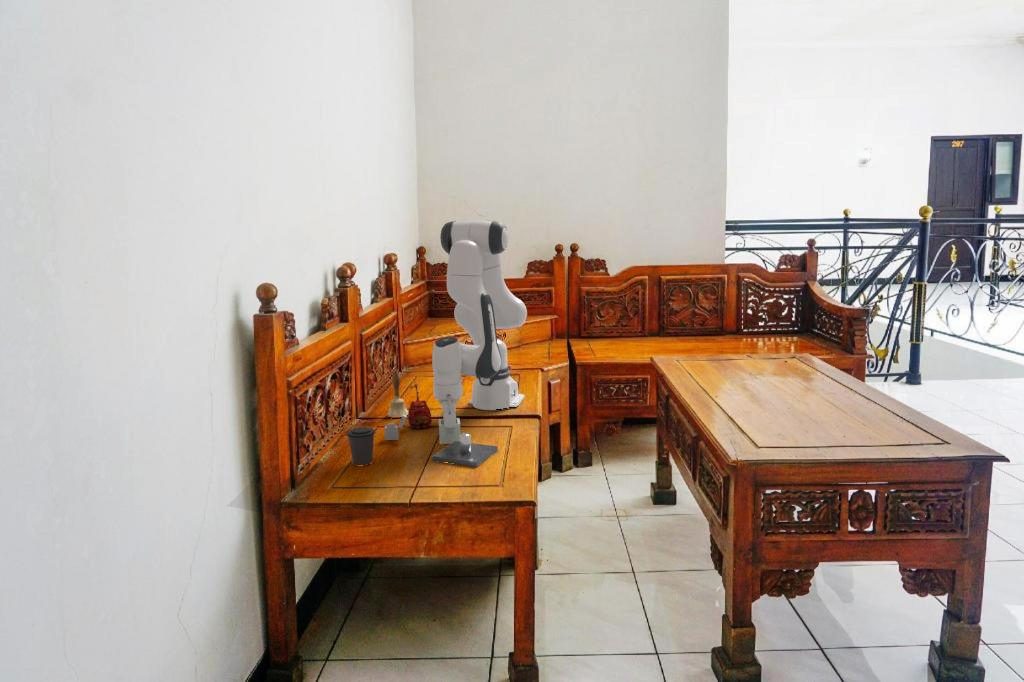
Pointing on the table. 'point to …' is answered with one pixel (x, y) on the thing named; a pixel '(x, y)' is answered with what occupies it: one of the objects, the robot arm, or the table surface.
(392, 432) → the lighter
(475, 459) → the plate
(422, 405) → the red clay folk toy
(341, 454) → the table surface
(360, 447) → the coffee cup
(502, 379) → the robot arm
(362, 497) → the table surface
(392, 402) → the hand bell
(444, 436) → the sleeve
